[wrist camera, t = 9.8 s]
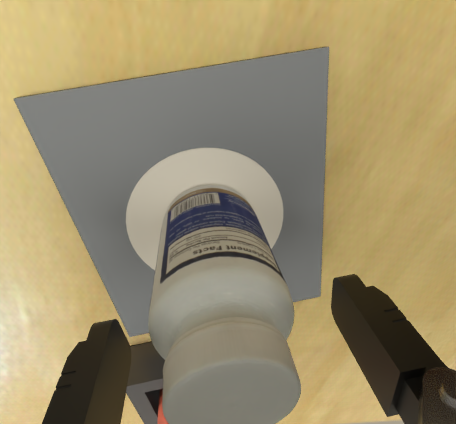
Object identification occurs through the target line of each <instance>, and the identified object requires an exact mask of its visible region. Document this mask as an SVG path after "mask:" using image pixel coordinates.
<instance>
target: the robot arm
mask: <svg viewBox="0 0 456 424" xmlns="http://www.w3.org/2000/svg"><path fill="white" fill-rule="evenodd" d="M331 309H332V314H333V317H334V320H335V322H336V324H337V326H338V328H339V330H340V332H341V333H342V335H343V337H344V339H345V341H346V343H347V344H348V346H349V348H350V350H351V352H352V353H353V355H354V357H355V359H356V361H357V363H358V364H359V366H360V368H361V370H362V372H363V374H364V375H365V377H366V379H367V381H368V383H369V384H370V386H371V388H372V390H373V392H374V394H375V395H376V397H377V399H378V401H379V403H380V405H381V406H382V408H383V410H384V412H385V414H386V416H387V417H388V416H393V415H397V414H399V415H400V417H401V418H402V420H403V422H404V424H456V370H453V369H450V368H448V367H447V366H446V365H445V364H444V363H443V362H442V361H441V360H440V358H439V357H438V356H437V355H436V354H435V352H434V351H433V350H432V349H431V347H430V346H429V345H428V344H427V343H426V341H425V340H424V339H423V338H422V337H421V335H420V334H419V333H418V332H417V330H416V329H415V328H414V327H413V326H412V324H411V323H410V322H409V321H407V319H406V317H405V316H404V315H403V313H402V312H401V311H400V310H398V307H397V306H396V305H395V304H394V302H393V301H392V300H391V299H390V298H389V296H388V295H386V294H385V293H383V292H382V291H380V290H379V289H377V288H376V287H375V286H370V287H366V286H365V285H364V284H363V282H362V281H361V280H360V278H359V277H358V276H357V275H355V274H352V275H347V276H342V277H337V278H334V279H333V288H332V302H331ZM130 366H131V348H130V345H129V342H128V340H127V338H126V336H125V334H124V332H123V330H122V328H121V326H120V324H119V322H118V321H117V320H116V319H114V320H109V321H104V322H98V323H94V324H93V325H92V326H91V329H90V332H89V334H88V337H87V340H86V341H83V342H79V343H78V344H77V345H76V347H75V348H74V349H73V351H72V352H71V353H70V355H69V356H68V357H67V360H66V363H65V365H64V368H63V370H62V373H61V374H62V375H61V377H60V378H59V381H58V383H57V386H56V391H54V394H53V396H52V399H51V401H50V404H49V407H48V409H47V412H46V414H45V417H44V420H43V422H42V424H120V423H121V418H122V412H123V406H124V400H125V395H126V389H127V383H128V378H129V372H130Z"/></svg>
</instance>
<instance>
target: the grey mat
mask: <svg viewBox="0 0 456 424" xmlns="http://www.w3.org/2000/svg"><path fill="white" fill-rule="evenodd" d="M328 66H329V47H322V48H316V49H309V50H303V51H297V52H291V53H285V54H279V55H273V56H267V57H261V58H255V59H249V60H243V61H237V62H231V63H225V64H218V65H212V66H206V67H200V68H194V69H188V70H182V71H176V72H170V73H164V74H158V75H152V76H146V77H140V78H133V79H127V80H121V81H115V82H109V83H103V84H97V85H91V86H85V87H79V88H73V89H67V90H61V91H55V92H49V93H42V94H36V95H30V96H24V97H18V98H15V99H14V101H15V103H16V105H17V107H18V109H19V111H20V113H21V115H22V117H23V120H24V122H25V124H26V126H27V128H28V130H29V132H30V134H31V136H32V138H33V140H34V142H35V144H36V146H37V148H38V150H39V152H40V154H41V156H42V158H43V160H44V163H45V165H46V167H47V169H48V171H49V173H50V175H51V177H52V179H53V181H54V183H55V185H56V187H57V189H58V191H59V193H60V195H61V197H62V199H63V201H64V203H65V206H66V208H67V210H68V212H69V214H70V216H71V218H72V220H73V222H74V224H75V226H76V228H77V230H78V232H79V234H80V236H81V238H82V240H83V242H84V244H85V246H86V249H87V251H88V253H89V255H90V257H91V259H92V261H93V263H94V265H95V267H96V269H97V271H98V273H99V275H100V277H101V279H102V281H103V283H104V285H105V287H106V289H107V292H108V294H109V296H110V298H111V300H112V302H113V304H114V306H115V308H116V310H117V312H118V314H119V316H120V318H121V320H122V322H123V324H124V326H125V328H126V330H127V332H128V335H129V337H131V336H136V335H141V334H145V333H149V326H148V322H149V309H150V301H151V296H152V287H153V281H154V276H155V269H156V262H157V255H158V248H159V241H160V234H161V229H162V223H163V219H164V216H165V213H166V211H167V209H168V208H169V206H170V204H171V203H172V202H173V201H174V200H175V199H176V198H177V197H178V196H179V195H181V194H183V193H184V192H186V191H188V190H190V189H193V188H196V187H199V186H205V185H217V186H223V187H227V188H230V189H232V190H235V191H236V192H238V193H240V194H241V195H242V196H243V197H245V198H246V200H247V201H248V202H249V203H250V204H251V206H252V208H253V210H254V212H255V214H256V216H257V218H258V220H259V222H260V225H261V227H262V229H263V231H264V234H265V236H266V238H267V240H268V243H269V245H270V248H271V250H272V253H273V255H274V258H275V260H276V262H277V264H278V267H279V269H280V271H281V273H282V275H283V277H284V280H285V282H286V283H287V286H288V289H289V292H290V295H291V298H292V301H293V302H296V301H301V300H306V299H310V298H315V297H320V295H321V266H322V237H323V209H324V180H325V152H326V123H327V94H328Z"/></svg>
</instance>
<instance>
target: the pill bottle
mask: <svg viewBox="0 0 456 424" xmlns="http://www.w3.org/2000/svg"><path fill="white" fill-rule="evenodd" d="M293 321H294V306H293V301H292V298H291V295H290V292H289V289H288V286H287V283H286V282H285V280H284V277H283V275H282V273H281V271H280V269H279V267H278V264H277V262H276V260H275V258H274V255H273V253H272V250H271V248H270V245H269V243H268V240H267V238H266V236H265V234H264V231H263V229H262V227H261V225H260V222H259V220H258V218H257V216H256V214H255V212H254V210H253V208H252V206H251V204H250V203H249V202H248V201H247V200H246V198H245V197H243V196H242V195H241V194H240V193H238V192H236V191H235V190H232V189H230V188H227V187H223V186H217V185H205V186H199V187H196V188H193V189H190V190H188V191H186V192H184V193H183V194H181V195H179V196H178V197H177V198H176V199H175V200H174V201H173V202H172V203H171V204H170V206H169V208H168V209H167V211H166V213H165V216H164V219H163V223H162V229H161V234H160V241H159V248H158V255H157V262H156V269H155V276H154V281H153V287H152V296H151V301H150V309H149V322H148V326H149V334H150V337H151V340H152V343H153V345H154V347H155V349H156V350H157V352H158V353H159V354H160V356H161V357H162V358H163V359H164V360H165V363H164V366H163V396H162V409H163V415H164V417H165V419H166V421H167V422H168V423H169V424H275V423H277V422H279V421H280V420H282V419H283V418H284V417H285V416H287V415H288V414H289V413H290V412H291V411H292V410H293V408H294V407H295V405H296V404H297V402H298V400H299V397H300V394H301V384H300V380H299V376H298V373H297V370H296V367H295V364H294V361H293V358H292V356H291V352H290V349H289V347H288V344H287V341H286V340H287V338H288V336H289V334H290V332H291V329H292V326H293Z"/></svg>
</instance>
